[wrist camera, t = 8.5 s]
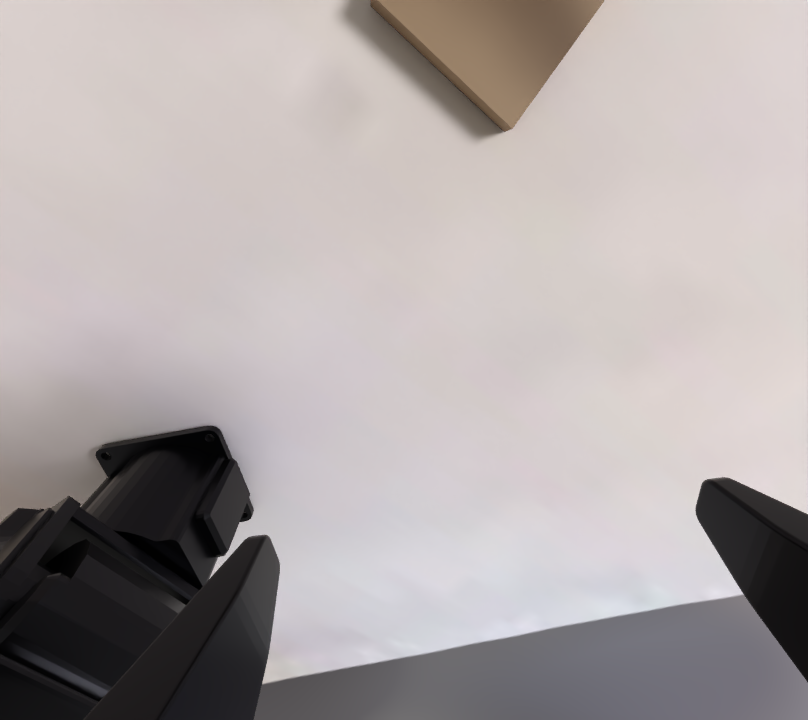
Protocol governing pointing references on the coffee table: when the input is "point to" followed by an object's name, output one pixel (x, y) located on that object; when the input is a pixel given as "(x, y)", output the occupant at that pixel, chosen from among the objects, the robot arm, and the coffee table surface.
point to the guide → (492, 44)
